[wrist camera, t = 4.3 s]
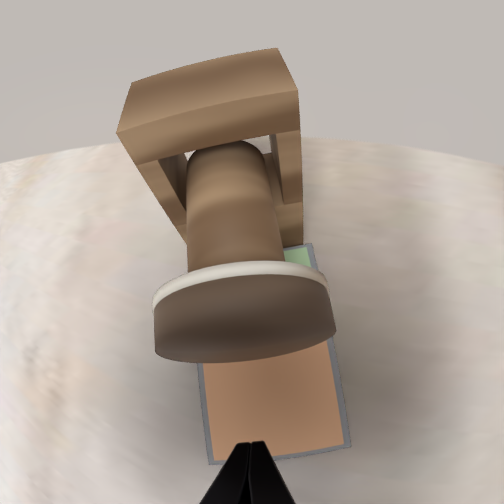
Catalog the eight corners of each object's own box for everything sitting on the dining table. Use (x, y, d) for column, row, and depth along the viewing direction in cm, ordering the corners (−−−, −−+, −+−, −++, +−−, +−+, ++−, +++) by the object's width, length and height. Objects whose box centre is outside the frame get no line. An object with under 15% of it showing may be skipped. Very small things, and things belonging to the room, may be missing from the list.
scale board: (349, 445, 14) (351, 447, 14) (211, 462, 15) (208, 465, 14) (311, 247, 21) (311, 241, 20) (193, 268, 21) (190, 263, 20)
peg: (329, 347, 13) (350, 304, 8) (189, 367, 14) (117, 339, 8) (294, 196, 17) (288, 102, 12) (183, 217, 18) (137, 136, 12)
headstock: (303, 246, 21) (297, 90, 10) (200, 265, 21) (116, 133, 11) (291, 198, 23) (277, 47, 12) (198, 216, 23) (131, 82, 12)
